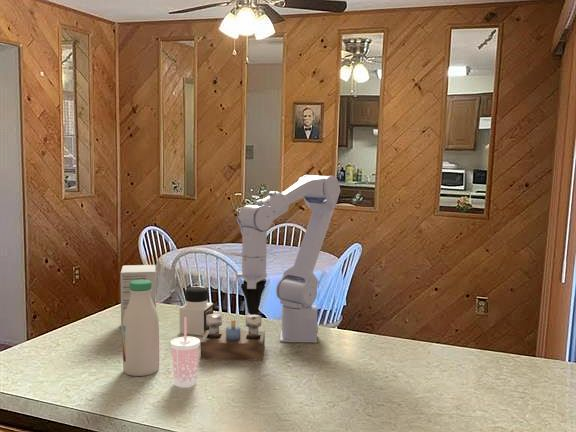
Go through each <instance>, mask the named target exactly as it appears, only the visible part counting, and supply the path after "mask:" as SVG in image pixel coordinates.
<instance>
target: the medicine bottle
mask: <svg viewBox="0 0 576 432" xmlns="http://www.w3.org/2000/svg"><path fill="white" fill-rule="evenodd" d="M184 293H185V294H184V295H185V296H184V297H185V299H184V300H185V301H184V303H185V304H183V305H182V306H180V307H179V334H182V335H184V318H185V317H186V318H187V335H195V336H196V335H197V336H204V335H205V333H206V331H207V330H209V326H207V325H206V316H207V315H209V314H214V303H213V302H209V289H208V288H207V287H205V286H201V285H194V286H189V287H188V288H186V289H185V291H184Z"/></svg>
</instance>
